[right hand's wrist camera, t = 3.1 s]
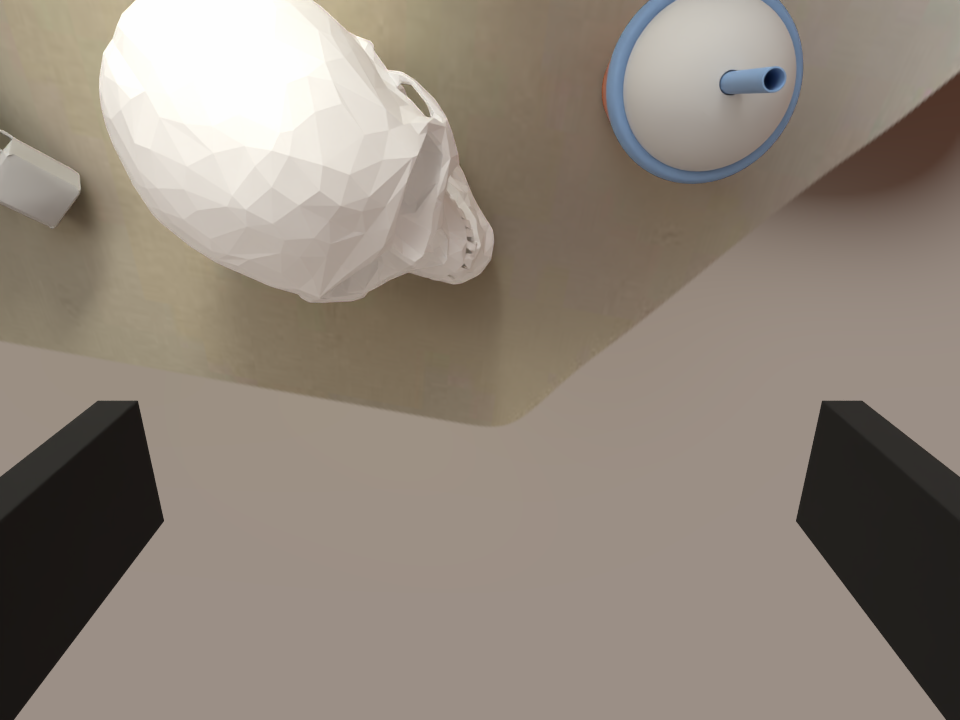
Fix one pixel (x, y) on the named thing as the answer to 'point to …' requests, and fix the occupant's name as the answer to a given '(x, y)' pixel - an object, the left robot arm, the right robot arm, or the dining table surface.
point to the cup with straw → (703, 85)
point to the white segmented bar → (36, 183)
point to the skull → (287, 148)
